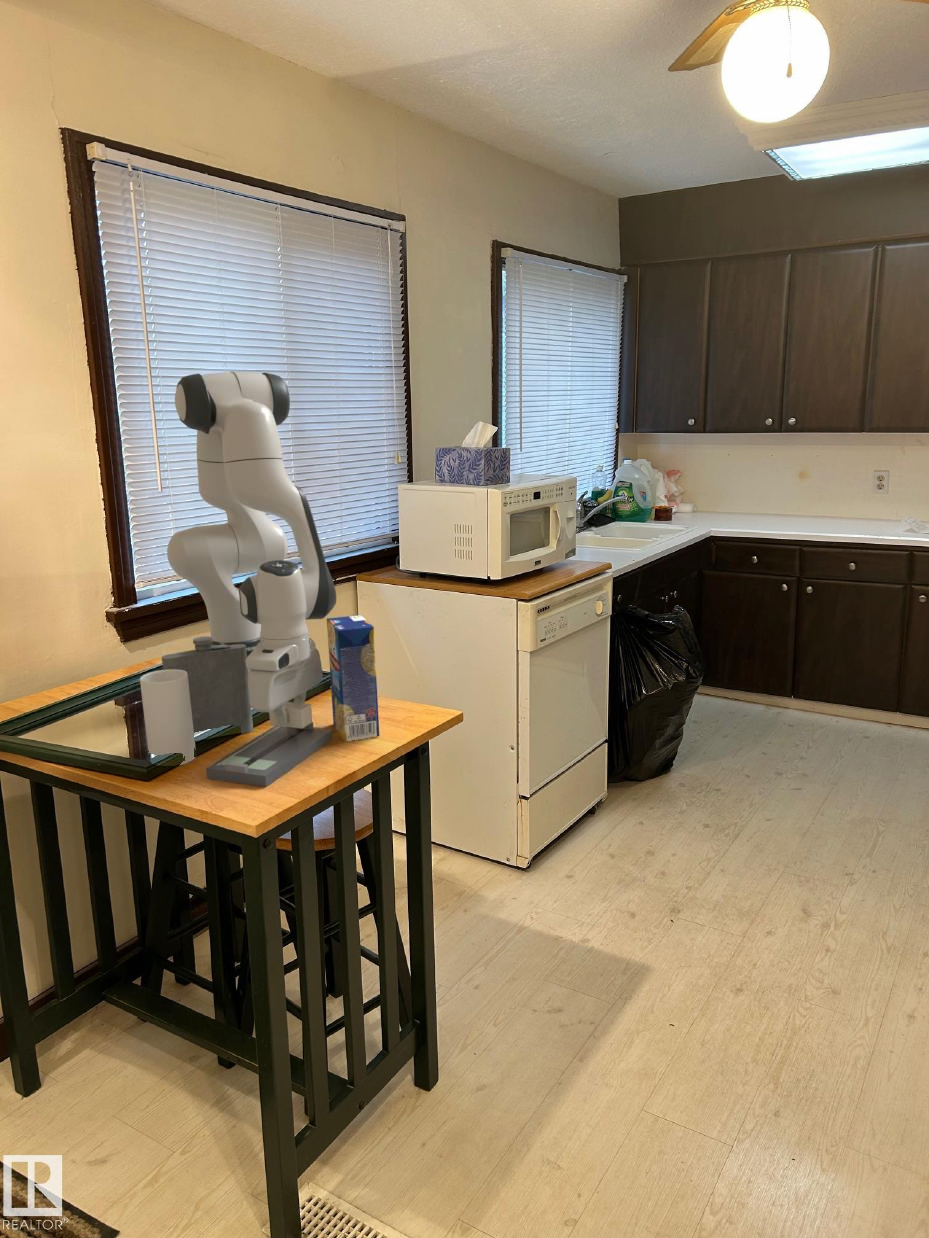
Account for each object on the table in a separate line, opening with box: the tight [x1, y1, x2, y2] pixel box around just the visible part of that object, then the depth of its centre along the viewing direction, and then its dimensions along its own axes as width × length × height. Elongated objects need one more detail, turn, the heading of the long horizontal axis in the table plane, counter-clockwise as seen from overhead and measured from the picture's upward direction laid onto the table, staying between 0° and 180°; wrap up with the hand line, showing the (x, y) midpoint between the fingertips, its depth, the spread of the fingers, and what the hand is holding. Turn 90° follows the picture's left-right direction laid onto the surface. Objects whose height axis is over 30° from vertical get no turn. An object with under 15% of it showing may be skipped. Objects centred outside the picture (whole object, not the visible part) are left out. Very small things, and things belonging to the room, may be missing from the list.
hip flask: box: [161, 635, 254, 735], centre depth 174 cm, size 16×4×20 cm, turn 119°
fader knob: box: [268, 701, 313, 734], centre depth 169 cm, size 4×7×6 cm, turn 69°
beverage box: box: [326, 614, 380, 743], centre depth 174 cm, size 7×11×22 cm, turn 20°
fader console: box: [205, 721, 333, 788], centre depth 164 cm, size 23×12×3 cm, turn 159°
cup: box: [139, 669, 196, 766], centre depth 163 cm, size 8×8×16 cm
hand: (290, 719), depth 169 cm, fingers closed on fader knob, 4 cm apart
